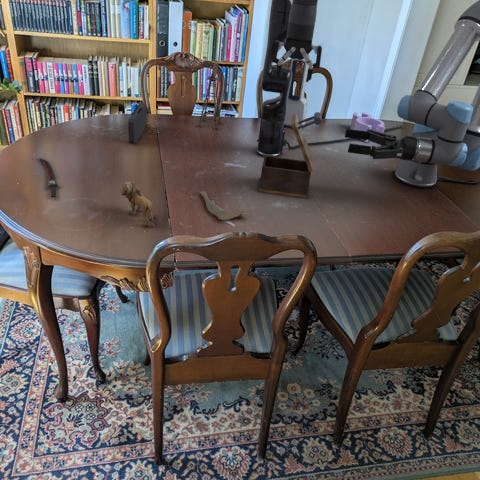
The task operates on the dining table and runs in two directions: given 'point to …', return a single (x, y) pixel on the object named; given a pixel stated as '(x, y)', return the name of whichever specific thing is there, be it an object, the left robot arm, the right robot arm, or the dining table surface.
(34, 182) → the dining table surface
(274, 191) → the chest
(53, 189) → the sword
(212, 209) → the jawbone
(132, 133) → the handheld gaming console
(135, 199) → the lion figurine
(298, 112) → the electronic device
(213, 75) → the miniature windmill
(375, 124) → the clip
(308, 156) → the lid
